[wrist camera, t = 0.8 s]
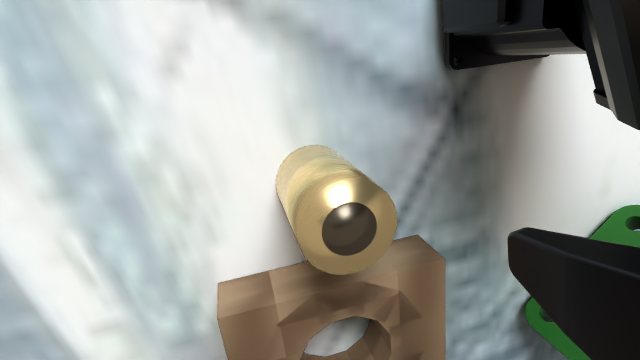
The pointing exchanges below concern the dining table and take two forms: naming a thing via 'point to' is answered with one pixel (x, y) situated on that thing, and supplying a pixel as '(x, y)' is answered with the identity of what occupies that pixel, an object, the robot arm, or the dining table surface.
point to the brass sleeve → (335, 210)
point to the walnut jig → (340, 308)
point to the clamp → (610, 231)
